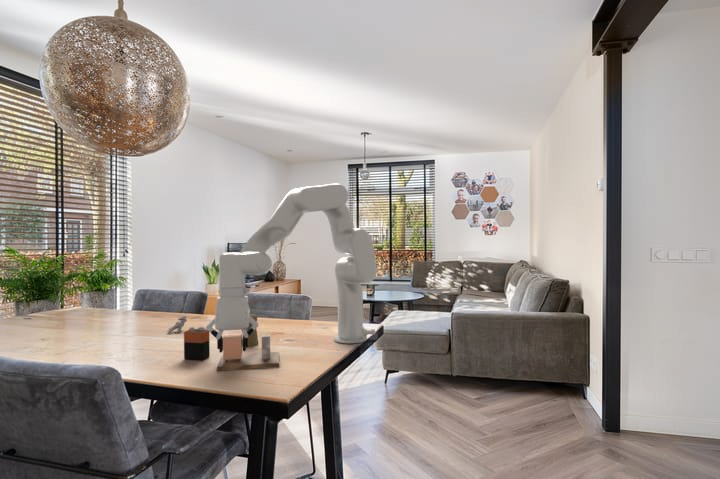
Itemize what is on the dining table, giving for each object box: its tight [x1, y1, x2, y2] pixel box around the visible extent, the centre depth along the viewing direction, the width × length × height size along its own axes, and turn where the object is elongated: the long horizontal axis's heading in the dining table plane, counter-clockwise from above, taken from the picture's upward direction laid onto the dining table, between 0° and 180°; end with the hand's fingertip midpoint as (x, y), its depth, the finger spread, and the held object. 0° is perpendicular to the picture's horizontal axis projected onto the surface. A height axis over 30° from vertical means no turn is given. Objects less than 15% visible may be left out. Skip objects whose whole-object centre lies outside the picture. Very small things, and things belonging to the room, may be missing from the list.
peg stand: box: [216, 334, 280, 372], centre depth 128 cm, size 18×12×8 cm, turn 102°
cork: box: [242, 313, 259, 348], centre depth 151 cm, size 6×6×11 cm
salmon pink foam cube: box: [222, 332, 243, 360], centre depth 127 cm, size 5×5×7 cm
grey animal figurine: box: [167, 315, 188, 334], centre depth 173 cm, size 10×6×9 cm
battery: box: [183, 326, 211, 361], centre depth 134 cm, size 4×7×10 cm, turn 79°
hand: (232, 350), depth 127 cm, fingers open, 6 cm apart
